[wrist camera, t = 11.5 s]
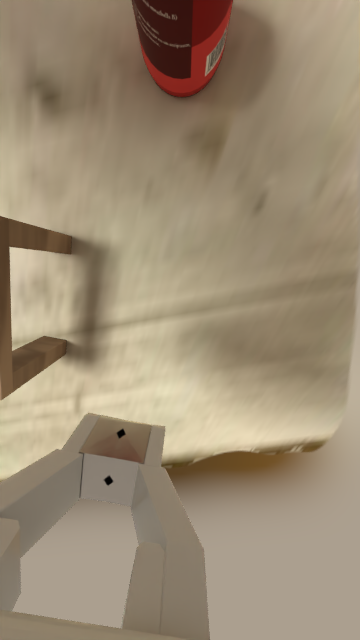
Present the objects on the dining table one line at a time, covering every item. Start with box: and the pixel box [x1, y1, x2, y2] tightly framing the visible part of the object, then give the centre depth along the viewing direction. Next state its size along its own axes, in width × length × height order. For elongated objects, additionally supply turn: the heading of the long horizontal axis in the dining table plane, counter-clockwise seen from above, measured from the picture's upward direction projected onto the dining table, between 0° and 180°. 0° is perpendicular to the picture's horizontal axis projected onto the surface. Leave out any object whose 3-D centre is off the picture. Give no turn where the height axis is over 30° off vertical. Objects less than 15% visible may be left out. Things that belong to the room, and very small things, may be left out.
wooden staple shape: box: [0, 216, 72, 400], centre depth 20 cm, size 3×15×10 cm, turn 169°
